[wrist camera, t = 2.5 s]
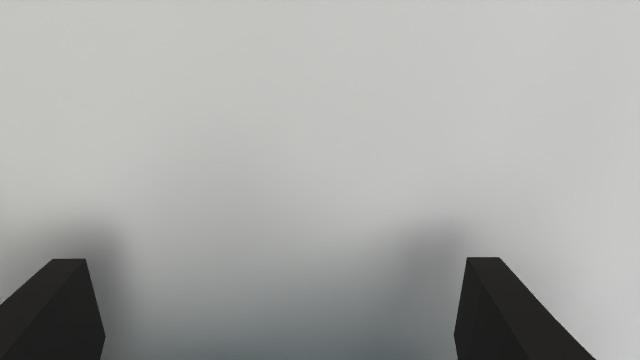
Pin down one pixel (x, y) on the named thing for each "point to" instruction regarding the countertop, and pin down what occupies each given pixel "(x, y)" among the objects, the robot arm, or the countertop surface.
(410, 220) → the countertop surface
